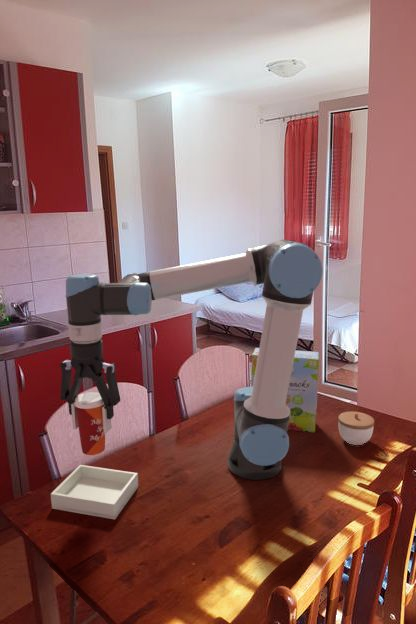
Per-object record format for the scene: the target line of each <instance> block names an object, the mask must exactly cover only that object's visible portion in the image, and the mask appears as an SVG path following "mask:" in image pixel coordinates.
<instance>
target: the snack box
mask: <svg viewBox="0 0 416 624" xmlns="http://www.w3.org/2000/svg"><path fill="white" fill-rule="evenodd" d="M259 348H260V347H254V350H253V353H252V354H251V371H250V372H251V380H250V381H251V383H250V384H251V385H250V387H253V383H254V377H255V371H256V365H257V359H258V354H259ZM319 368H320V352H319V351H311V350H310V351H308V350H296V351H295V356H294V362H293V367H292V372H291V378H290V383H289V388H288V394H287V399H286V405H287V406H288V408H289V409H290V417H289V423H288V428H287V431H297V432H305V431H308V432H307V433H316V425H317V424H316V422H317V408H318V407H317V406H318V390H319V389H318V388H319V370H320V369H319Z"/></svg>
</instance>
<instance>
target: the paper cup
mask: <svg viewBox="0 0 416 624" xmlns="http://www.w3.org/2000/svg"><path fill="white" fill-rule="evenodd" d="M74 405H75V406H76V413H77V420H78V432H79V433H78V434H79V440H80V446H81V451H82V453H83V454H84V455H86V456H95V455H99V454H102V453H103V452H104V451H105V449H106V433H104V430H103V414H102V407H103V406H105V405H104V403H103V400H102V398H101V396H100V394H99V391H98V392H97V391H91V392H90V391H89V392H84V393H80V394H78V395H77V397H76V399H75V402H74Z"/></svg>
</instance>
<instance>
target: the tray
mask: <svg viewBox="0 0 416 624" xmlns="http://www.w3.org/2000/svg"><path fill="white" fill-rule="evenodd" d="M138 488H139V473H138V472H133V471H127V470H126V471H124V470H118V469H111V468H105V467H99V466H91V465H86V464H85V465H84V464H79V465H78V466H77V467H76V468H75V469H74V470H73V471H72V472H71V473H70V474H69V475H68V476H66V478H65V479H64V480H63V481H62V482H61V483H60V484H59V485H58V486H57V487H56V488H55V489H54V490H53V491H52V492H51V493H50V501H51V509H54V510H58V511H64V512H70V513H76V514H82V515H86V516H87V515H88V516H92V517H99V518H105V519H111V520H116V519H117V517H118V516H119V515H120V513H121V512H122V510H123V509H124V508H125V506H126V505H127V503H128V502H129V500H130V499H131V498H132V496H133V495H134V494H135V492H136V491H137V489H138Z"/></svg>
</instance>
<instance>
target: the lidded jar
mask: <svg viewBox="0 0 416 624" xmlns="http://www.w3.org/2000/svg"><path fill="white" fill-rule="evenodd" d="M337 418H338V423H337V424H338V431H339V434H340V436H341V438H342V439H343V440H344V442H345V441H346V442H347V443H349V444H353V445H362V444H364V443H365V444H366V443H368V442H369V441H370V440H371V437H372V435H373V433H374V426H375V419H374V417H372V416H371V415H369V414H367V413H363V412H360V411H345V412H342V413H340V414H338V417H337ZM346 442H345V443H346ZM347 443H346V444H347ZM349 444H348V445H349ZM365 444H364V445H365ZM353 445H352V446H353ZM362 446H363V445H362Z"/></svg>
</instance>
